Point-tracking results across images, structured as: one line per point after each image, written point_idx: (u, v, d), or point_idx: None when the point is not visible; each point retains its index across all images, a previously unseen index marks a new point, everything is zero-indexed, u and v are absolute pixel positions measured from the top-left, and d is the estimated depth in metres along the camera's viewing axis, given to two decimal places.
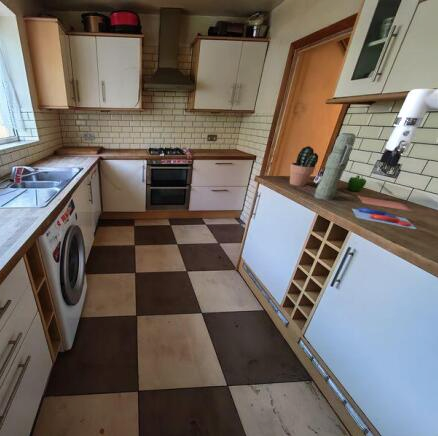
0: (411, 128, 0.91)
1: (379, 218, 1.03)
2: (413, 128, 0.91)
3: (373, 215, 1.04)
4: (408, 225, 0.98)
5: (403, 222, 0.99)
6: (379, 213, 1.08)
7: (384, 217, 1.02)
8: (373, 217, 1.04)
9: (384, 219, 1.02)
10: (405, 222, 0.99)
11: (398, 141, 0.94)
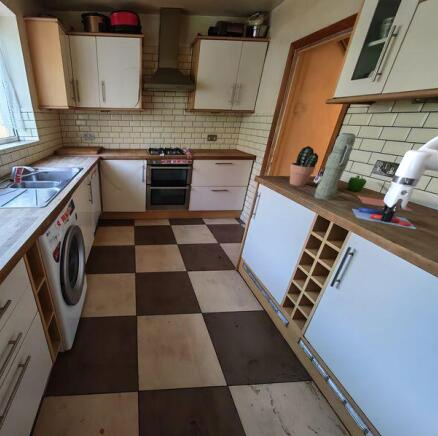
0: (408, 188, 0.92)
1: (379, 218, 1.03)
2: (411, 188, 0.92)
3: (373, 215, 1.04)
4: (408, 225, 0.98)
5: (403, 222, 0.99)
6: (379, 213, 1.08)
7: None
8: (373, 217, 1.04)
9: None
10: (405, 222, 0.99)
11: (396, 199, 0.95)
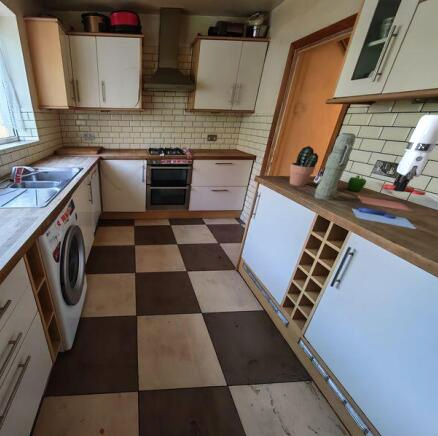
0: (424, 154, 0.90)
1: (392, 188, 1.01)
2: (426, 154, 0.90)
3: (386, 185, 1.02)
4: (423, 193, 0.96)
5: (417, 191, 0.98)
6: (379, 213, 1.08)
7: None
8: (386, 187, 1.02)
9: None
10: (419, 191, 0.98)
11: (410, 166, 0.93)
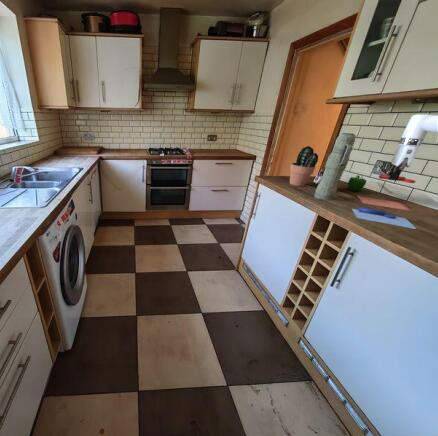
0: (413, 147, 1.06)
1: (387, 177, 1.17)
2: (415, 148, 1.06)
3: (382, 175, 1.18)
4: (413, 182, 1.12)
5: (408, 180, 1.14)
6: (379, 213, 1.08)
7: None
8: (382, 177, 1.18)
9: None
10: (410, 180, 1.14)
11: (402, 158, 1.09)
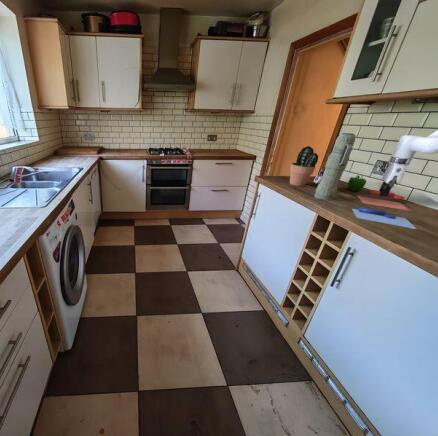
0: (402, 166, 1.12)
1: (378, 193, 1.23)
2: (404, 167, 1.12)
3: (373, 191, 1.24)
4: (402, 198, 1.18)
5: (398, 196, 1.20)
6: (379, 213, 1.08)
7: None
8: (373, 192, 1.24)
9: None
10: (399, 196, 1.20)
11: (392, 176, 1.15)
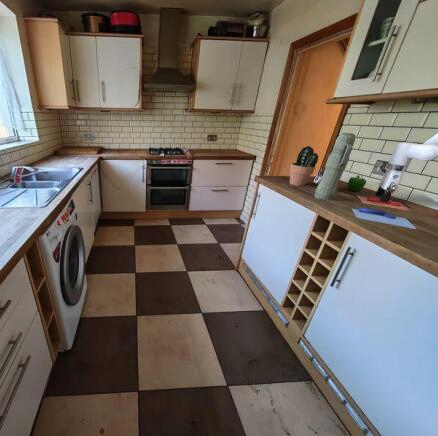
0: (399, 173, 1.13)
1: (375, 200, 1.25)
2: (401, 173, 1.13)
3: (370, 198, 1.26)
4: (398, 205, 1.20)
5: (394, 203, 1.21)
6: (379, 213, 1.08)
7: (379, 199, 1.24)
8: (370, 199, 1.26)
9: (379, 201, 1.24)
10: (396, 203, 1.21)
11: (389, 183, 1.16)
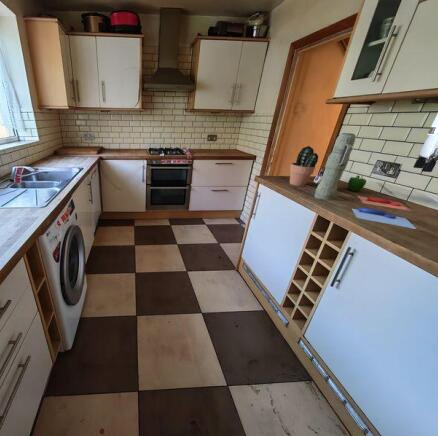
0: None
1: (375, 200, 1.25)
2: None
3: (370, 198, 1.26)
4: (398, 205, 1.20)
5: (394, 203, 1.21)
6: (379, 213, 1.08)
7: (379, 199, 1.24)
8: (370, 199, 1.26)
9: (379, 201, 1.24)
10: (396, 203, 1.21)
11: (433, 149, 1.02)
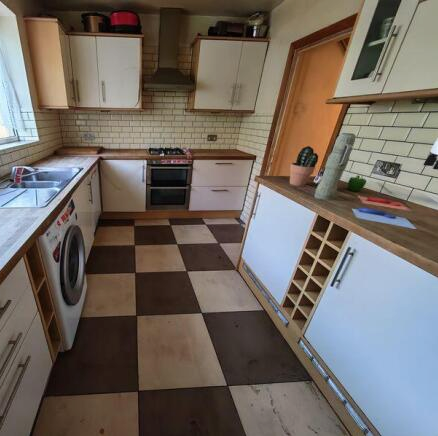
0: None
1: (375, 200, 1.25)
2: None
3: (370, 198, 1.26)
4: (398, 205, 1.20)
5: (394, 203, 1.21)
6: (379, 213, 1.08)
7: (379, 199, 1.24)
8: (370, 199, 1.26)
9: (379, 201, 1.24)
10: (396, 203, 1.21)
11: None
